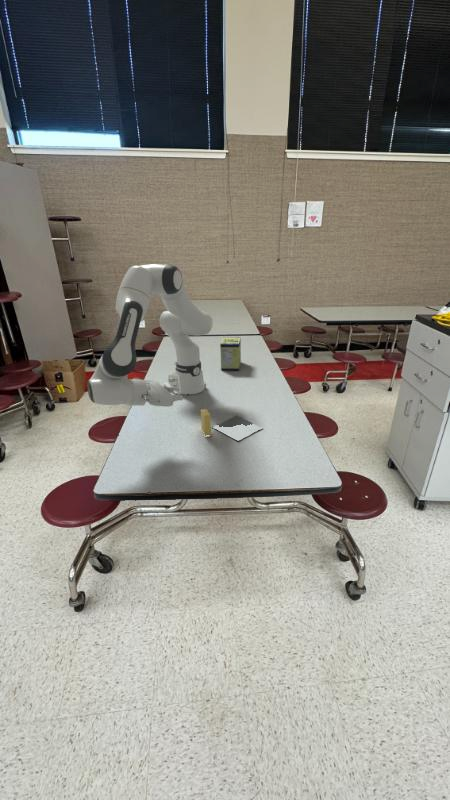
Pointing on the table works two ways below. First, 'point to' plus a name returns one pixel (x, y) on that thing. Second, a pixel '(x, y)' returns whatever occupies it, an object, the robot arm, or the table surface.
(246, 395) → the table surface
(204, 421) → the box
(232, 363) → the protein box
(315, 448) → the table surface
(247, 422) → the mat
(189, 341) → the robot arm
